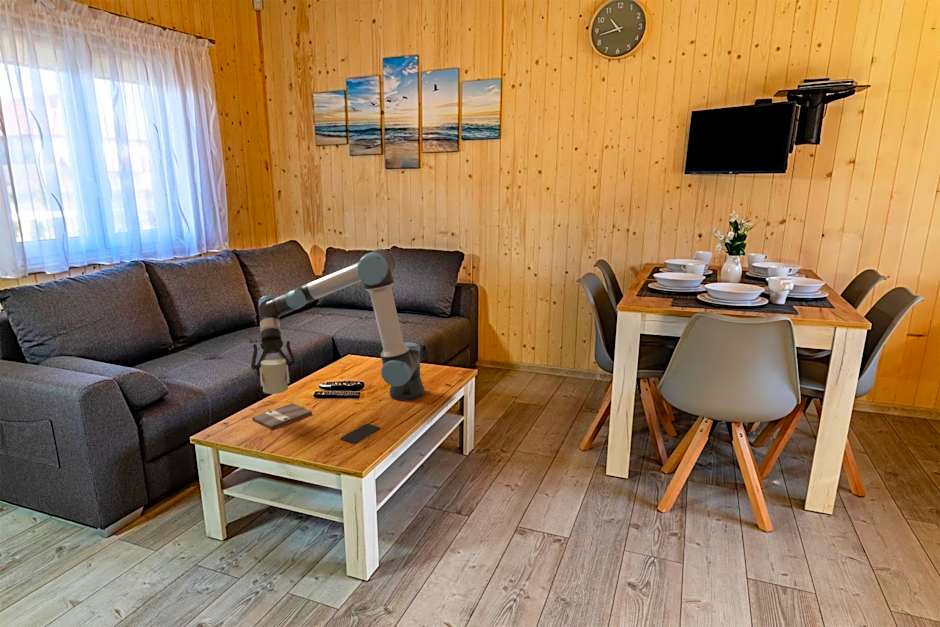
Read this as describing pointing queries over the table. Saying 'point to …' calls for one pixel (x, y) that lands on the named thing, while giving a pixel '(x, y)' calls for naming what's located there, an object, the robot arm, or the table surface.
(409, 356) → the robot arm
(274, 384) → the can
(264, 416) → the grey flat block
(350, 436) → the phone
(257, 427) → the table surface
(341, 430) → the table surface
